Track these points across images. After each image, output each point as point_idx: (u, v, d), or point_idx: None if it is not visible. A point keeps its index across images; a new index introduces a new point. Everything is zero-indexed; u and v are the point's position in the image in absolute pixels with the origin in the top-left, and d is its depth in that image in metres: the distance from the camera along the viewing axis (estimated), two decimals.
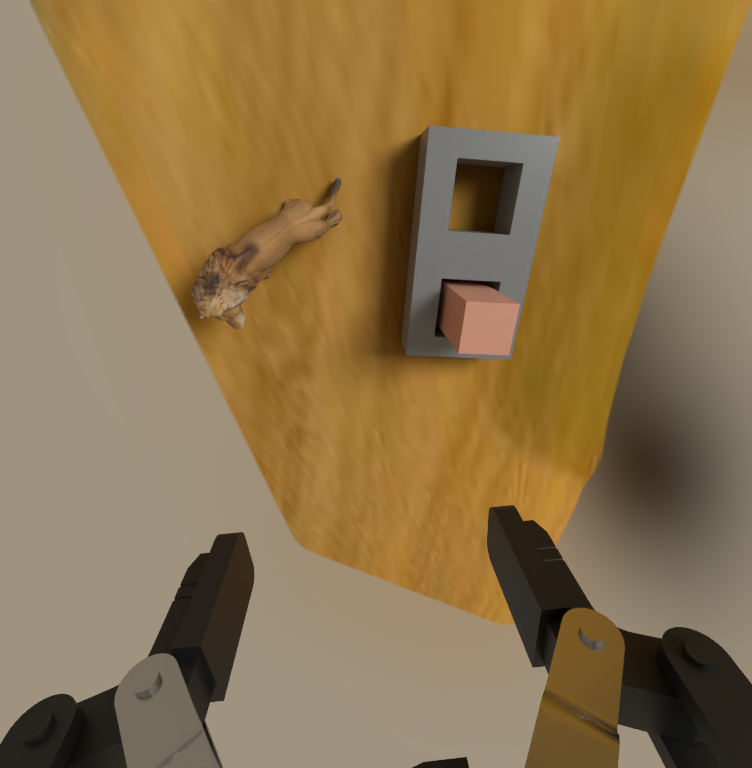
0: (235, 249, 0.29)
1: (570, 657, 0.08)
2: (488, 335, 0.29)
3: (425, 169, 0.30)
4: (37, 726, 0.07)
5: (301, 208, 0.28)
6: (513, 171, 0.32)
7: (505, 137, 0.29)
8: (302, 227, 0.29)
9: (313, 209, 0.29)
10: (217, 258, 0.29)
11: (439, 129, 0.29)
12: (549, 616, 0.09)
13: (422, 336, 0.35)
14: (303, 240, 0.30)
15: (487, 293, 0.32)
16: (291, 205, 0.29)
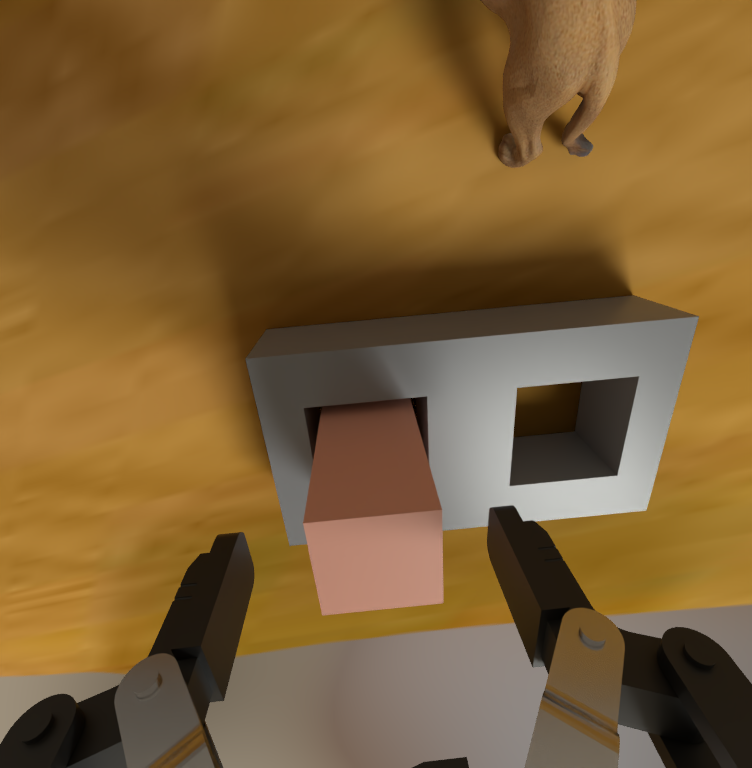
0: None
1: (570, 657, 0.08)
2: (363, 569, 0.12)
3: (626, 323, 0.16)
4: (37, 726, 0.07)
5: (631, 14, 0.10)
6: (587, 454, 0.20)
7: (658, 441, 0.18)
8: (589, 15, 0.09)
9: None
10: None
11: (688, 335, 0.16)
12: (549, 616, 0.09)
13: (299, 385, 0.16)
14: (540, 30, 0.10)
15: None
16: None
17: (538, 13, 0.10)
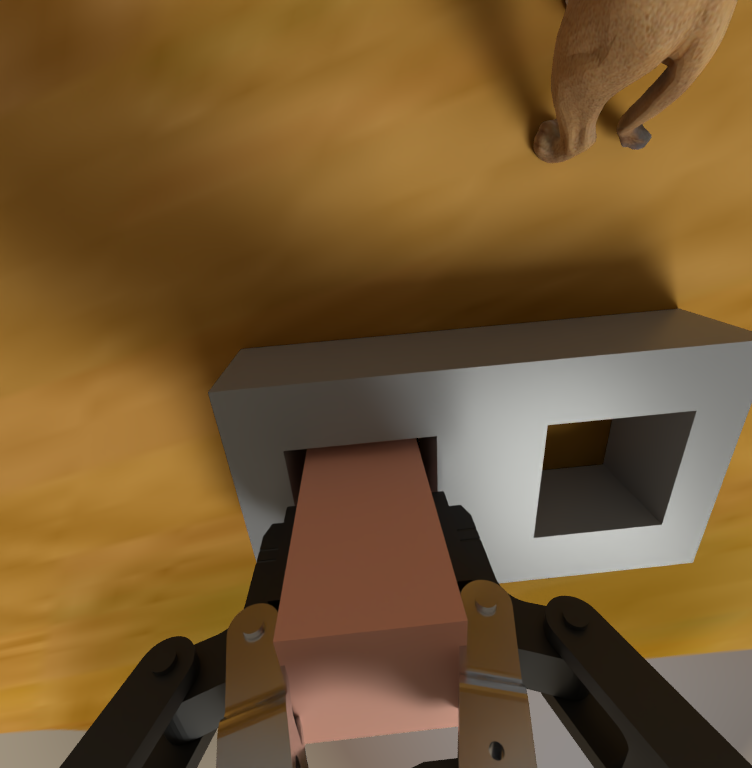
0: None
1: None
2: (357, 692, 0.09)
3: (685, 347, 0.12)
4: (164, 662, 0.08)
5: None
6: (622, 495, 0.17)
7: (712, 485, 0.15)
8: None
9: (734, 8, 0.07)
10: None
11: None
12: None
13: (277, 424, 0.13)
14: None
15: None
16: None
17: None
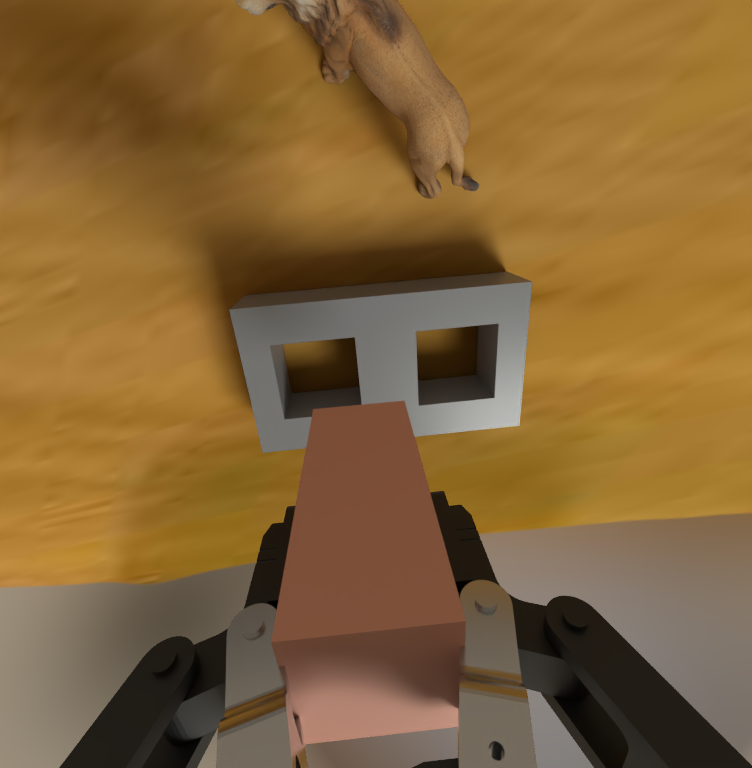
0: None
1: None
2: (356, 692, 0.09)
3: (484, 286, 0.23)
4: (164, 662, 0.08)
5: (464, 126, 0.18)
6: (479, 387, 0.28)
7: (519, 371, 0.26)
8: (439, 129, 0.18)
9: (462, 148, 0.18)
10: None
11: (527, 294, 0.24)
12: None
13: (266, 328, 0.23)
14: (416, 134, 0.18)
15: None
16: (464, 107, 0.18)
17: (413, 126, 0.18)
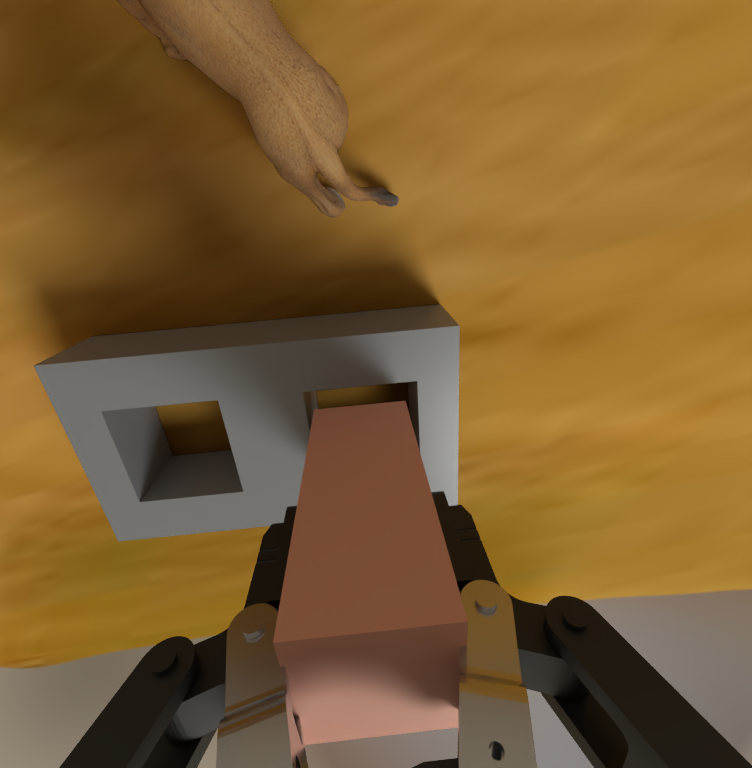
0: None
1: None
2: (357, 693, 0.09)
3: (393, 332, 0.17)
4: (163, 662, 0.08)
5: (328, 115, 0.11)
6: None
7: (451, 441, 0.19)
8: (283, 120, 0.11)
9: (331, 149, 0.12)
10: None
11: (454, 343, 0.17)
12: None
13: (91, 390, 0.17)
14: (255, 129, 0.12)
15: None
16: (329, 86, 0.12)
17: (249, 116, 0.12)
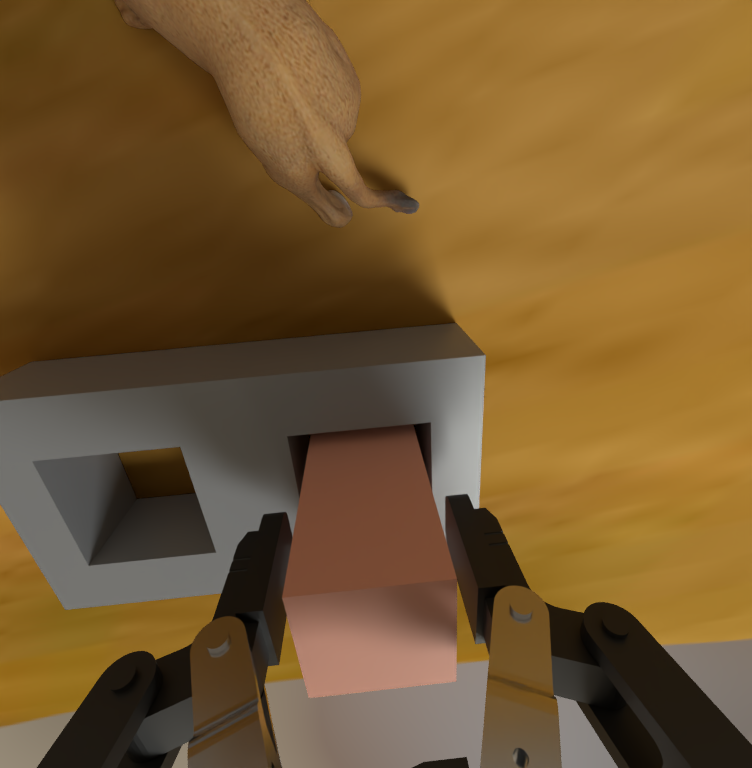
0: None
1: (497, 629, 0.09)
2: (358, 647, 0.10)
3: (401, 363, 0.13)
4: (123, 678, 0.08)
5: (334, 90, 0.08)
6: None
7: (471, 492, 0.16)
8: (271, 98, 0.08)
9: (340, 139, 0.09)
10: None
11: (478, 376, 0.13)
12: (486, 594, 0.10)
13: (18, 435, 0.13)
14: (232, 111, 0.08)
15: None
16: (337, 50, 0.08)
17: (223, 92, 0.08)
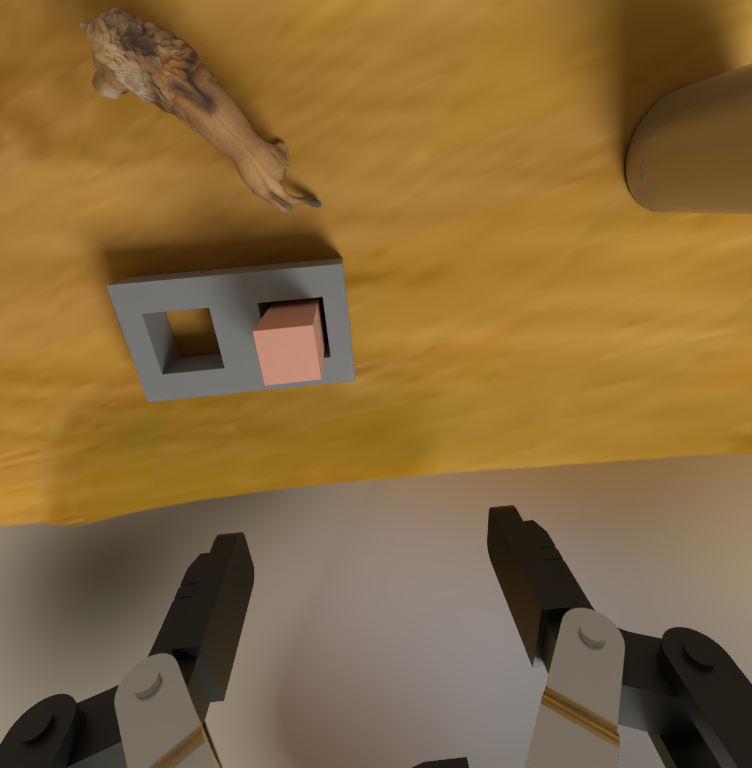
0: (201, 80, 0.23)
1: (570, 657, 0.08)
2: (281, 358, 0.27)
3: (306, 267, 0.30)
4: (37, 726, 0.07)
5: (273, 167, 0.25)
6: (326, 350, 0.35)
7: (346, 335, 0.33)
8: (253, 170, 0.25)
9: (276, 181, 0.26)
10: (180, 53, 0.22)
11: (341, 274, 0.31)
12: (549, 616, 0.09)
13: (137, 300, 0.30)
14: (240, 173, 0.26)
15: (320, 346, 0.30)
16: (273, 153, 0.26)
17: (237, 168, 0.25)
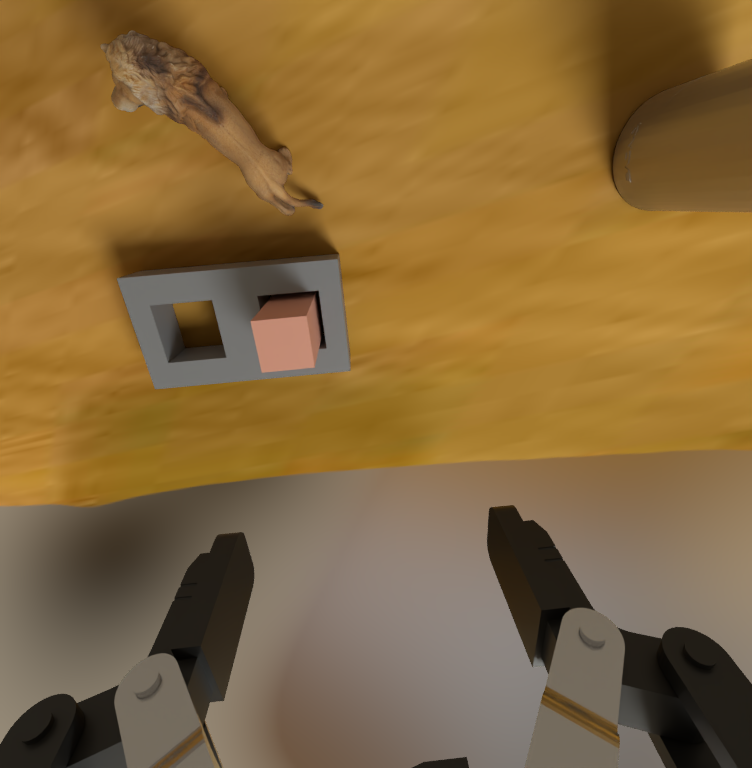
0: (210, 93, 0.25)
1: (570, 657, 0.08)
2: (277, 346, 0.29)
3: (303, 262, 0.32)
4: (37, 726, 0.07)
5: (276, 172, 0.27)
6: (323, 342, 0.37)
7: (341, 327, 0.35)
8: (257, 175, 0.27)
9: (279, 185, 0.28)
10: (190, 69, 0.24)
11: (336, 268, 0.32)
12: (549, 616, 0.09)
13: (145, 293, 0.32)
14: (245, 178, 0.28)
15: (315, 337, 0.32)
16: (276, 159, 0.27)
17: (243, 173, 0.27)
